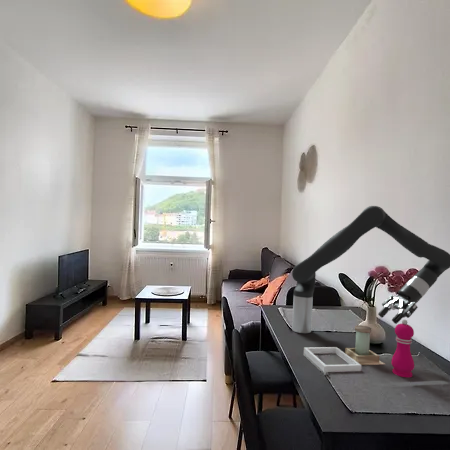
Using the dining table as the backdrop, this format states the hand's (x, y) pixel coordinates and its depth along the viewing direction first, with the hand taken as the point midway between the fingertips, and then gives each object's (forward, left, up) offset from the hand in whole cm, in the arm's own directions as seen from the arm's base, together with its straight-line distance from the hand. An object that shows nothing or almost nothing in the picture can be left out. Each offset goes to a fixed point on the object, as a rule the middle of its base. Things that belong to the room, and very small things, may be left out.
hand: (386, 319), depth 136 cm
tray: (+2, -24, -16) cm, 29 cm away
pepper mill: (+14, -3, -16) cm, 22 cm away
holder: (0, -10, -16) cm, 19 cm away
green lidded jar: (0, -10, -15) cm, 18 cm away
